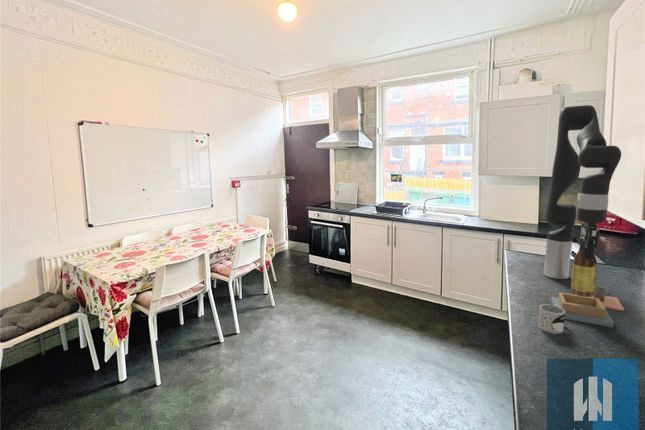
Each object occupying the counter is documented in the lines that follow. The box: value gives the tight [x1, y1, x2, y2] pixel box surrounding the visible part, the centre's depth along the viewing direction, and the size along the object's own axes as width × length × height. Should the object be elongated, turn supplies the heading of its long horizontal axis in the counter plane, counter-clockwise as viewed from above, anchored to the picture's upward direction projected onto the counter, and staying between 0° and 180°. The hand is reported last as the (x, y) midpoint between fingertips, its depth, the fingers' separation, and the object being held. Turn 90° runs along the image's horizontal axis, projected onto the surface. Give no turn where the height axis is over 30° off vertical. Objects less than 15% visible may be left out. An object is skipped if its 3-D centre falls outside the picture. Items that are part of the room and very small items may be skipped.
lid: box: [591, 285, 625, 312], centre depth 122 cm, size 12×12×6 cm
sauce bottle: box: [570, 236, 598, 297], centre depth 111 cm, size 6×6×20 cm
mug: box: [537, 303, 566, 335], centre depth 104 cm, size 10×7×7 cm
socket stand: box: [550, 291, 615, 328], centre depth 113 cm, size 15×15×4 cm
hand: (586, 256), depth 110 cm, fingers closed on sauce bottle, 5 cm apart
